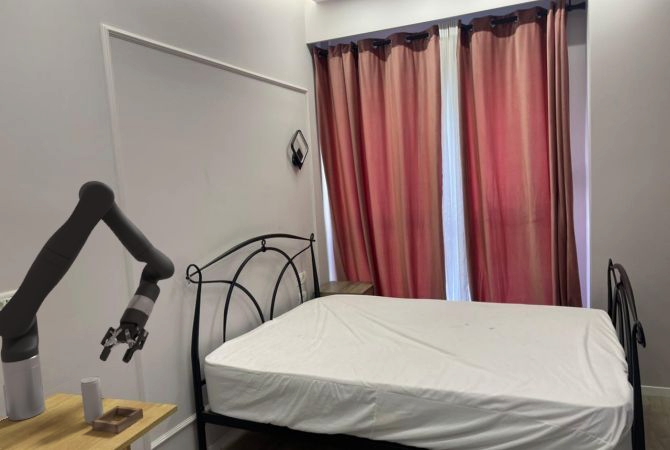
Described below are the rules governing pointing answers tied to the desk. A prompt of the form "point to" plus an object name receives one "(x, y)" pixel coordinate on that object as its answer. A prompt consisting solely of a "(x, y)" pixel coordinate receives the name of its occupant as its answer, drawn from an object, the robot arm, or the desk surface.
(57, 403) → the desk surface
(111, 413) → the collar
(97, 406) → the beverage can
